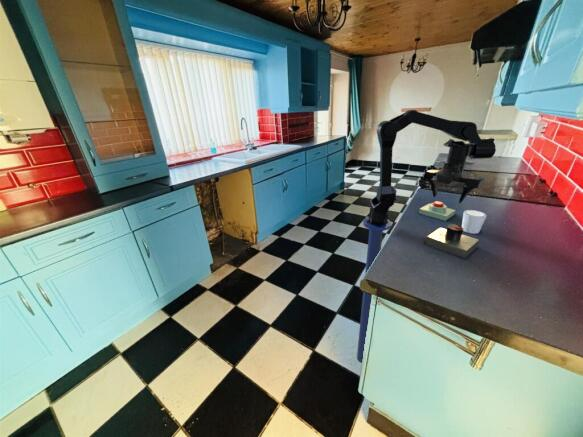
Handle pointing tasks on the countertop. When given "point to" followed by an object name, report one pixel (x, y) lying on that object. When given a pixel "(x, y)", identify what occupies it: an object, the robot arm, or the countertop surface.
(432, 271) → the countertop surface
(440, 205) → the lock button
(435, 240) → the panel
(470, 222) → the white tapered cup
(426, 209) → the pale green button base
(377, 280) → the countertop surface
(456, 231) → the knob
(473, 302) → the countertop surface
